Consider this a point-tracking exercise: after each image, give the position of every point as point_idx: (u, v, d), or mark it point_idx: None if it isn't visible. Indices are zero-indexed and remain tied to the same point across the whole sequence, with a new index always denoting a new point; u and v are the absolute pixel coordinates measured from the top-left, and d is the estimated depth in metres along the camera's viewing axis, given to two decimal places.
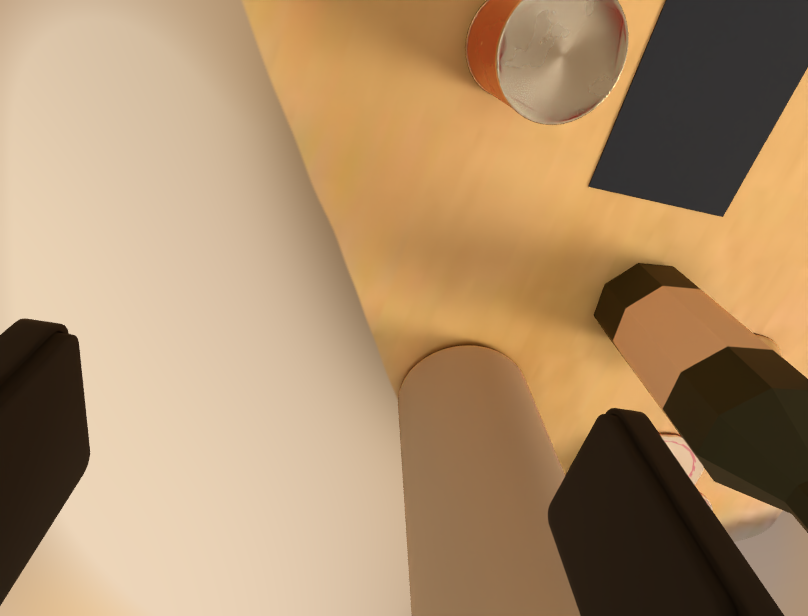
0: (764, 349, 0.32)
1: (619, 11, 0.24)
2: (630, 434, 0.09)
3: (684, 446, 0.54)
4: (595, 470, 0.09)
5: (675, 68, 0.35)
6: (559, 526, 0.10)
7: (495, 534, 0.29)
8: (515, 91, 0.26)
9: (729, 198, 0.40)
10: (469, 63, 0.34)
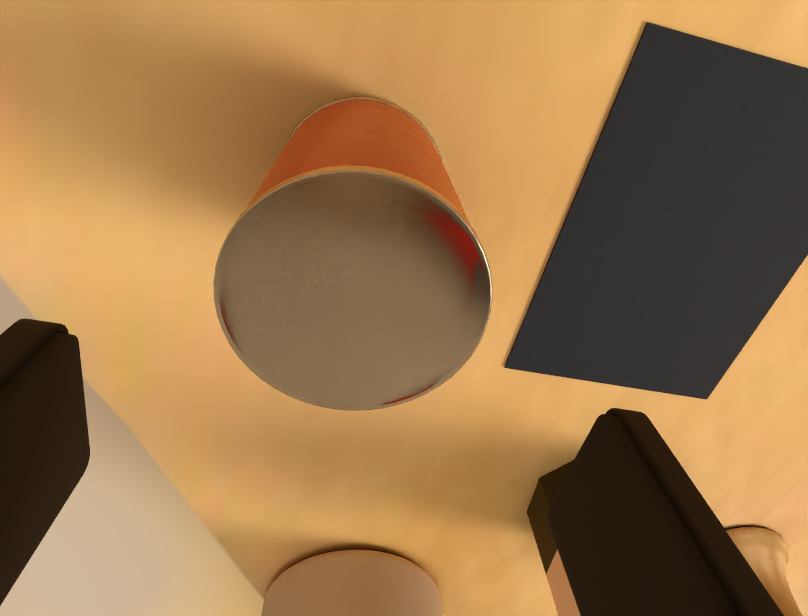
0: None
1: (464, 231, 0.11)
2: (631, 434, 0.09)
3: None
4: (595, 470, 0.09)
5: (629, 212, 0.22)
6: (559, 526, 0.10)
7: None
8: (272, 365, 0.13)
9: (716, 378, 0.27)
10: None
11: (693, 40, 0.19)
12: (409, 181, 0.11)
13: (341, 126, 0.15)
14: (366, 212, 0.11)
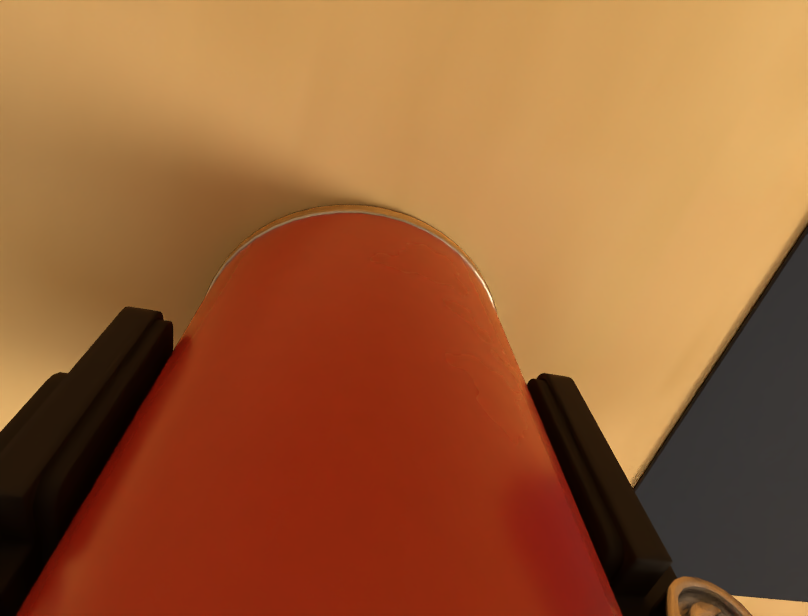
0: None
1: None
2: (555, 396, 0.09)
3: None
4: None
5: (807, 378, 0.13)
6: None
7: None
8: None
9: None
10: None
11: None
12: None
13: (287, 362, 0.06)
14: None
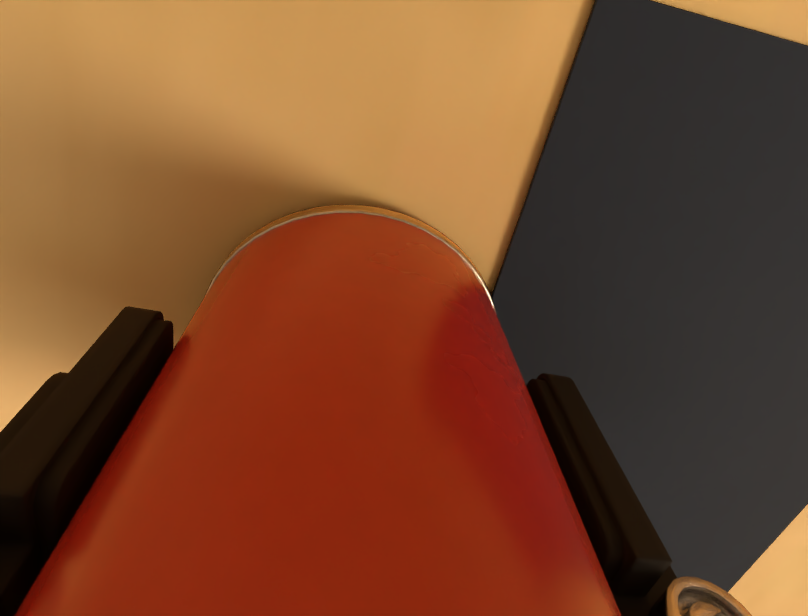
0: None
1: None
2: (555, 396, 0.09)
3: None
4: None
5: (586, 341, 0.12)
6: None
7: None
8: None
9: (742, 567, 0.17)
10: None
11: (700, 24, 0.09)
12: None
13: (285, 362, 0.06)
14: None
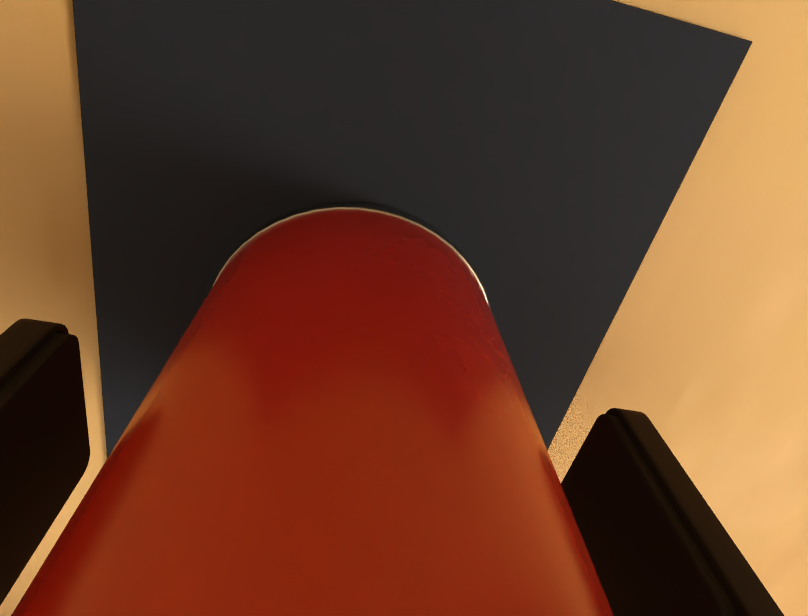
0: None
1: None
2: (630, 434, 0.09)
3: None
4: (595, 470, 0.09)
5: None
6: None
7: None
8: None
9: None
10: None
11: None
12: None
13: (289, 340, 0.06)
14: None
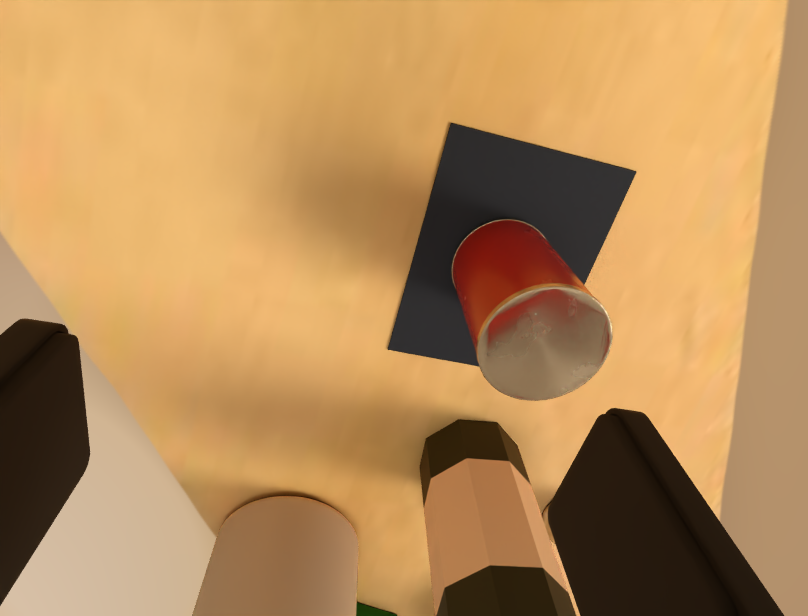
0: (532, 567, 0.29)
1: (603, 313, 0.24)
2: (630, 434, 0.09)
3: None
4: (595, 470, 0.09)
5: (460, 240, 0.33)
6: (559, 526, 0.10)
7: None
8: (496, 375, 0.25)
9: None
10: (454, 284, 0.33)
11: (482, 134, 0.29)
12: (581, 291, 0.23)
13: (520, 248, 0.27)
14: (560, 304, 0.24)
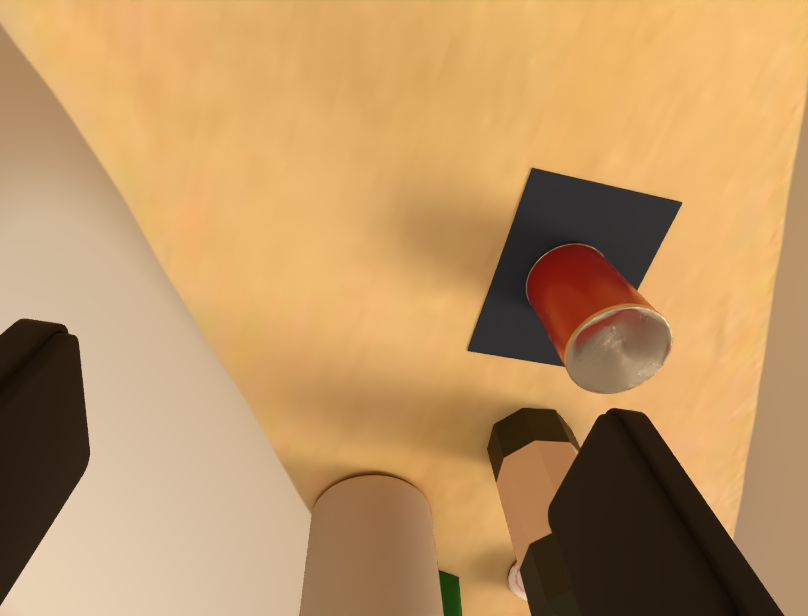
0: None
1: (666, 325, 0.31)
2: (630, 434, 0.09)
3: None
4: (595, 470, 0.09)
5: (533, 261, 0.39)
6: (559, 526, 0.10)
7: None
8: (579, 374, 0.32)
9: None
10: (528, 297, 0.40)
11: (557, 176, 0.36)
12: (650, 309, 0.30)
13: (593, 272, 0.34)
14: (633, 320, 0.30)
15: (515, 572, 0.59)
